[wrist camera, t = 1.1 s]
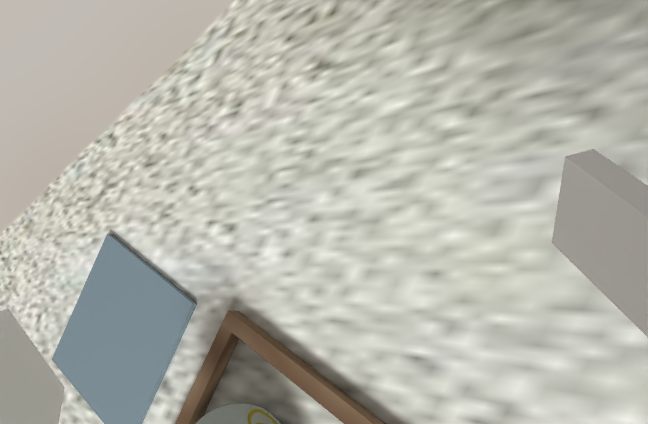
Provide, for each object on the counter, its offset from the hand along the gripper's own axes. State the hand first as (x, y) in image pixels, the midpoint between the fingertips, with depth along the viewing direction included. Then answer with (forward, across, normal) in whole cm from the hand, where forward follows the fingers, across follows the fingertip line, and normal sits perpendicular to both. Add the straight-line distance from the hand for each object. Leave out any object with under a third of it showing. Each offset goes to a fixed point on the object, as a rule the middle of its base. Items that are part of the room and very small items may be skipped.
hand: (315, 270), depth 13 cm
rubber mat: (+28, -16, -27) cm, 42 cm away
